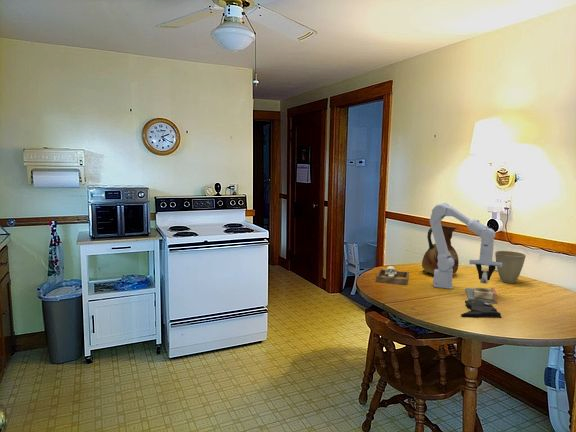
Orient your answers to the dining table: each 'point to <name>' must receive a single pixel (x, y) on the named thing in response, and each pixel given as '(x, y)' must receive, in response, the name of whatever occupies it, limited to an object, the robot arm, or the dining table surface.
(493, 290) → the board
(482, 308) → the stone slab
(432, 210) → the robot arm
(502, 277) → the plant pot
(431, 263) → the ceramic pitcher
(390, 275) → the skull
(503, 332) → the dining table surface
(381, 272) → the coaster frame
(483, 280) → the peg
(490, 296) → the wooden square ring
